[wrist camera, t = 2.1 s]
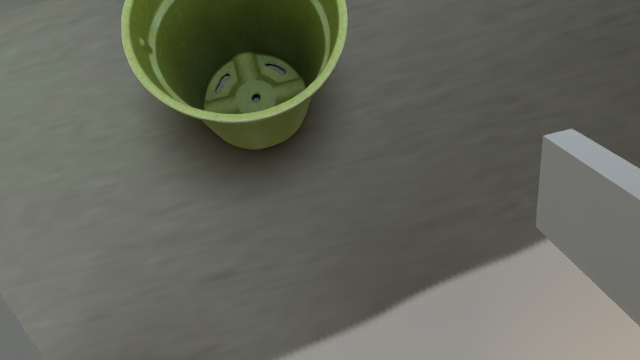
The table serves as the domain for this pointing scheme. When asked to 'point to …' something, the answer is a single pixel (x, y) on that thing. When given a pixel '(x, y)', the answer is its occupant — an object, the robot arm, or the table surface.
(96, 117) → the table surface
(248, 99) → the plant pot
